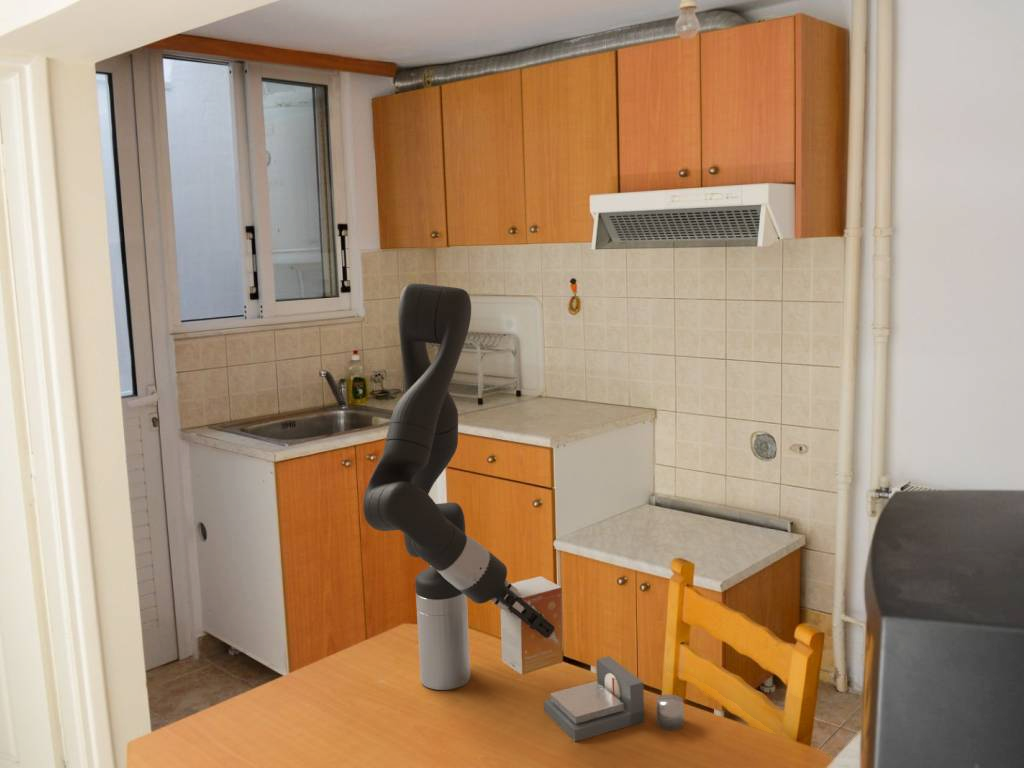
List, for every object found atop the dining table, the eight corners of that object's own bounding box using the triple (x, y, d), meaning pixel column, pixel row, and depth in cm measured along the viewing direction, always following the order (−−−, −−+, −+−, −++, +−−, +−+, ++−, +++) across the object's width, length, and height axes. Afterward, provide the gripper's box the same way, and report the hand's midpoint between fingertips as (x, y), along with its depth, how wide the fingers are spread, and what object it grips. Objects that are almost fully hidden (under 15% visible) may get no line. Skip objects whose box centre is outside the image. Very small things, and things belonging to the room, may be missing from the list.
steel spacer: (651, 721, 156) (651, 698, 156) (673, 714, 158) (673, 692, 157) (666, 733, 152) (666, 710, 152) (689, 726, 154) (688, 703, 154)
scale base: (544, 711, 161) (542, 673, 159) (609, 693, 166) (608, 656, 165) (575, 741, 151) (573, 701, 150) (643, 721, 156) (643, 682, 155)
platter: (550, 699, 160) (550, 693, 159) (596, 687, 163) (596, 681, 163) (575, 723, 152) (575, 717, 151) (623, 710, 155) (623, 703, 155)
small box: (522, 676, 148) (520, 598, 146) (501, 661, 153) (498, 585, 151) (564, 662, 152) (562, 586, 150) (542, 649, 158) (540, 574, 156)
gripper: (504, 562, 140) (575, 621, 147) (468, 535, 153) (535, 590, 160) (472, 603, 139) (545, 660, 145) (439, 572, 152) (507, 626, 158)
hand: (540, 623), depth 153 cm, fingers closed on small box, 7 cm apart
